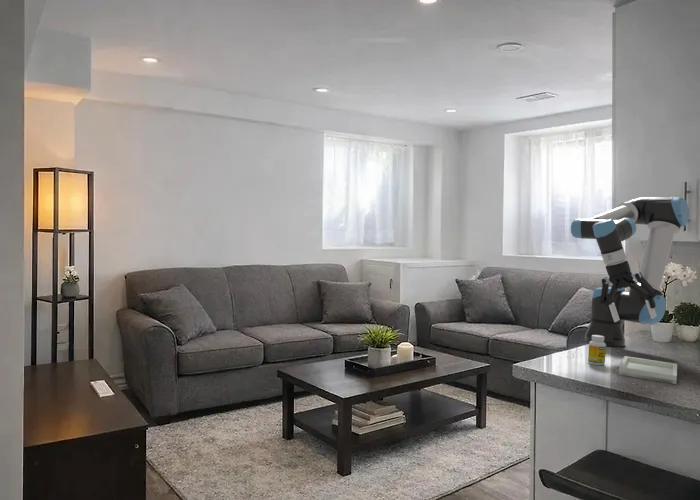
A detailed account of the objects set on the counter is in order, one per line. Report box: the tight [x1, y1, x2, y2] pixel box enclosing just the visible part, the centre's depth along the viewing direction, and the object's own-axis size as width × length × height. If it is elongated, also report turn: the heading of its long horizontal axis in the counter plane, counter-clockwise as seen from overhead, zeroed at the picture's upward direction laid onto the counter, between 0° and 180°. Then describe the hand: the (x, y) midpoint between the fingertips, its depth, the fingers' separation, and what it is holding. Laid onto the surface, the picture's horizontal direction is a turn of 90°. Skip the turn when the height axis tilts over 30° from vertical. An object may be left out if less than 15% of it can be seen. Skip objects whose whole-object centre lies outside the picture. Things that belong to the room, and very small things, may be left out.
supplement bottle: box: [587, 335, 607, 366], centre depth 196 cm, size 5×5×10 cm
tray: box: [618, 355, 678, 385], centre depth 186 cm, size 20×16×2 cm
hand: (635, 319), depth 203 cm, fingers open, 13 cm apart
